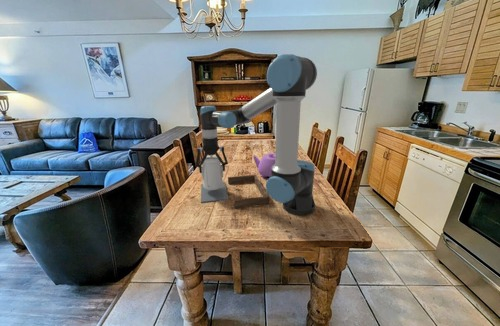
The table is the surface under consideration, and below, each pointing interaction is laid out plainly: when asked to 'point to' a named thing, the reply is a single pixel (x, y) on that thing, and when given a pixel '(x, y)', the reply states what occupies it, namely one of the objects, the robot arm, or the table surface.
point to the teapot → (265, 164)
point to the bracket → (250, 201)
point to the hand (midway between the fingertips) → (212, 177)
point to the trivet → (214, 194)
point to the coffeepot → (212, 173)
